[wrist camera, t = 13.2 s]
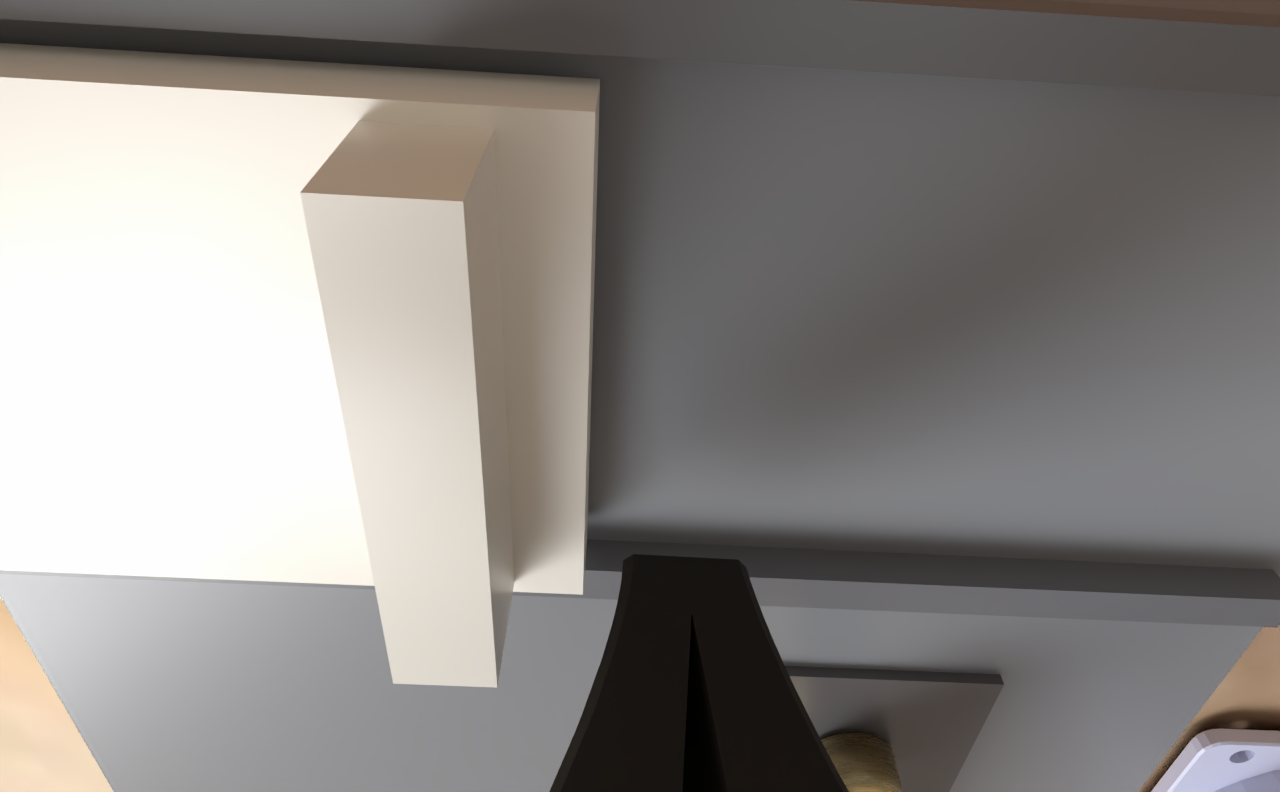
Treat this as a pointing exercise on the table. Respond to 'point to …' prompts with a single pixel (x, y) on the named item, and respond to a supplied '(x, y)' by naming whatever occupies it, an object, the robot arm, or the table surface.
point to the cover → (300, 331)
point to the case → (809, 391)
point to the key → (864, 762)
